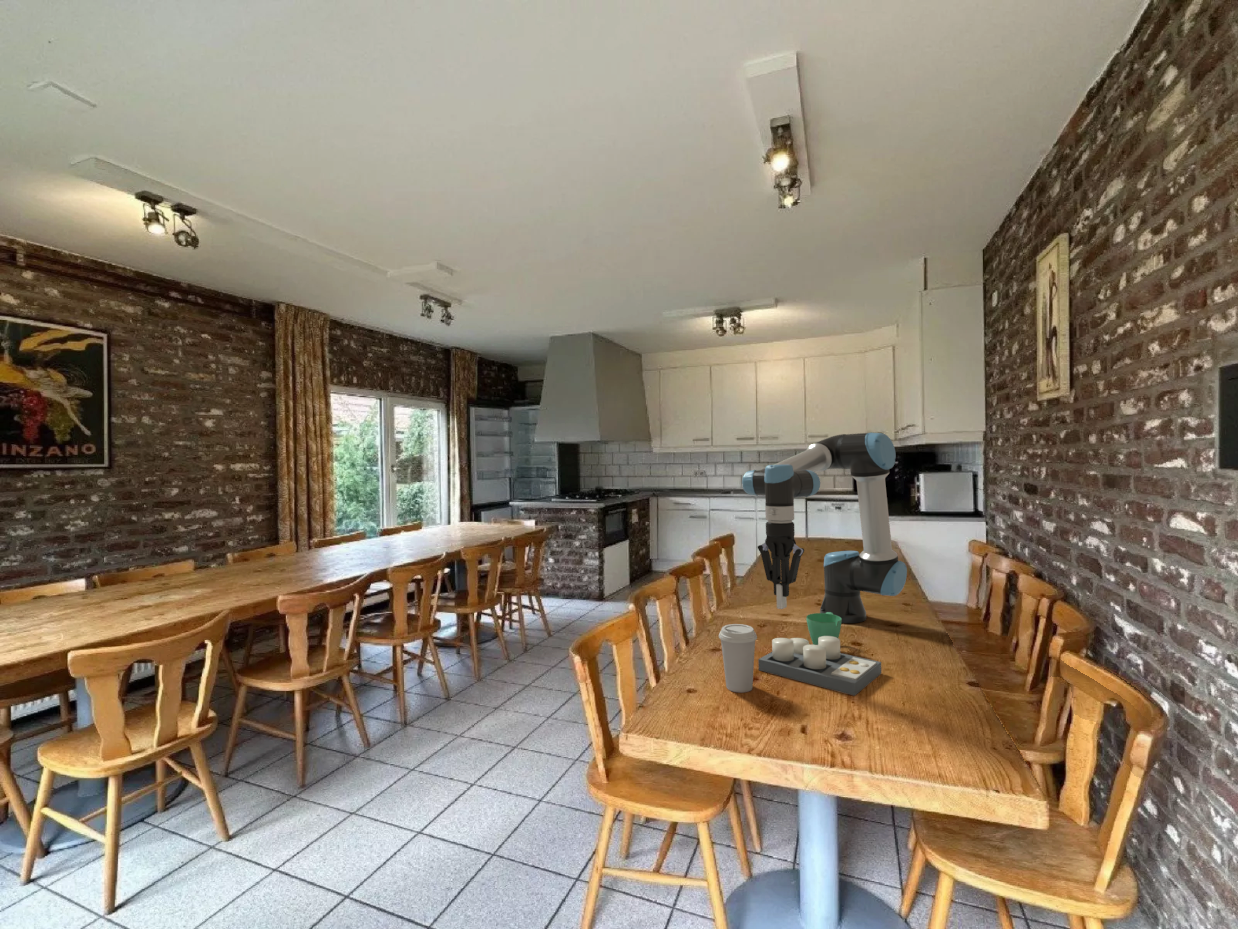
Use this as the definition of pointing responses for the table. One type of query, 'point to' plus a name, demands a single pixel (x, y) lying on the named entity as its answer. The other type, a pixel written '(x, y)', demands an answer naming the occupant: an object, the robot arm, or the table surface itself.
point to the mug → (823, 625)
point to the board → (826, 672)
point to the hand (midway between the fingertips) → (781, 607)
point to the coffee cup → (738, 656)
